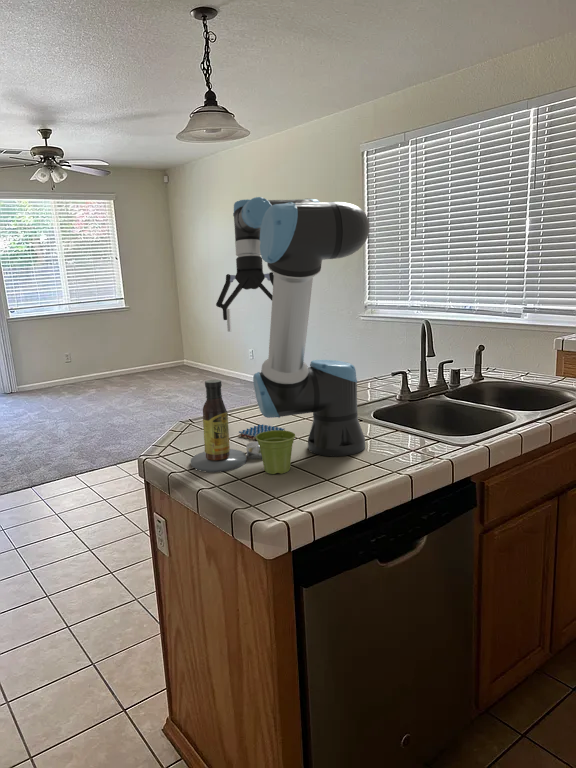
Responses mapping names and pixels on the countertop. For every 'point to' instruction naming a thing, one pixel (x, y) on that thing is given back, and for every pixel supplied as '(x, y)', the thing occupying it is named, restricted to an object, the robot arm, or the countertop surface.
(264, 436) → the plant pot
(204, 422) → the sauce bottle
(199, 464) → the disc
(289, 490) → the countertop surface
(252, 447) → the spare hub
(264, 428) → the woven mat
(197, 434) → the countertop surface
